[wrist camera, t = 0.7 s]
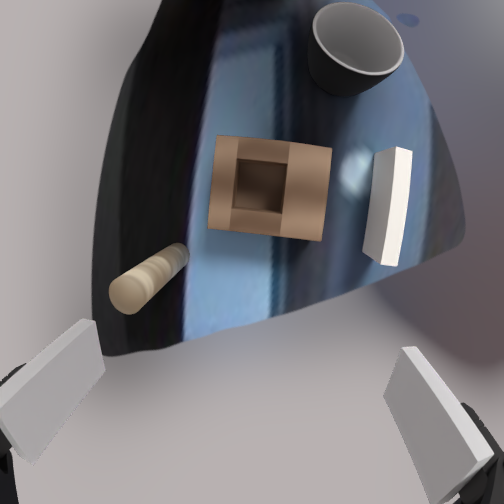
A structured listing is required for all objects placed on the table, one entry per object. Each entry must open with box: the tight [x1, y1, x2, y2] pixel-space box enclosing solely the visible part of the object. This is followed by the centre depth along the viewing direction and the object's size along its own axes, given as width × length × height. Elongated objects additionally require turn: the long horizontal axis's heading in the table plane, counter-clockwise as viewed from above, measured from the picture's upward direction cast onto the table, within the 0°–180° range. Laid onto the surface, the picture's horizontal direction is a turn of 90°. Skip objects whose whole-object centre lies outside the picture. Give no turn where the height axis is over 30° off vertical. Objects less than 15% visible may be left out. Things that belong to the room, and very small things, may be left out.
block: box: [207, 135, 332, 241], centre depth 29 cm, size 9×11×4 cm
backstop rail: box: [362, 147, 412, 266], centre depth 28 cm, size 12×2×6 cm, turn 174°
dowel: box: [109, 243, 190, 314], centre depth 26 cm, size 3×3×14 cm
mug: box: [308, 2, 404, 96], centre depth 22 cm, size 12×9×10 cm
